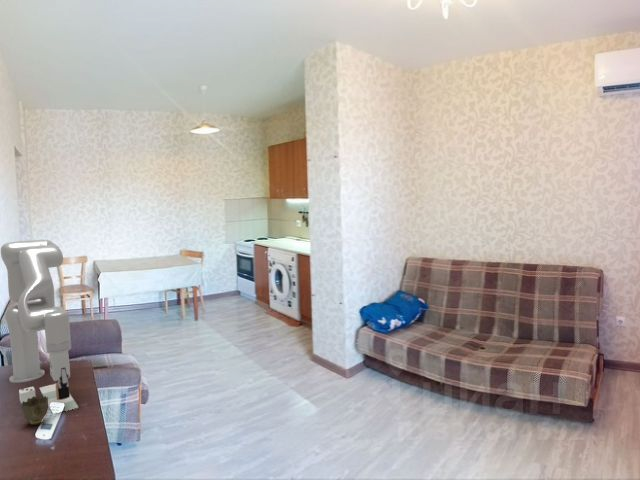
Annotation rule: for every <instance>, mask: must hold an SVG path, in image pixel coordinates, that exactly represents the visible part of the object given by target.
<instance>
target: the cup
mask: <svg viewBox="0 0 640 480" xmlns="http://www.w3.org/2000/svg"><path fill="white" fill-rule="evenodd" d="M21 404H22V405H21ZM20 405H21V408H22V411H23V416H24V418H25V419H26V420H27V421H29V423H30V425H31V426H37V425H40V424H42V423H41V421H42V419H43V420H44V418H45V416H46V415H47V413H48V408H49V406H48V396H47V397H46V396H45V397H44V396H43V395H42V396H40V395H38V396H36V397H35V396H34V397H32V398H31V399H30V398H28V399H27V402H24V401H23V403H21V402H20Z"/></svg>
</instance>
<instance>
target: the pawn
mask: <svg viewBox="0 0 640 480" xmlns="http://www.w3.org/2000/svg"><path fill="white" fill-rule="evenodd" d="M61 382H62V381H61ZM55 384H56V383H55ZM68 386H69V387H70V384H69V383H68ZM58 388H59V383H58V382H57V384H56V397H57V400H63V399H59V394H58ZM70 395H71V393H70V394H69V397H70ZM64 399H67V398H64Z"/></svg>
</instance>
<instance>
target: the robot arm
mask: <svg viewBox="0 0 640 480" xmlns="http://www.w3.org/2000/svg"><path fill="white" fill-rule="evenodd" d="M63 255H64V254H63V251H62V250H61V249H60V247H59V246H58V245H56V243H54V242H52V241H51V240H49V239H40V240H39V239H36V240H22V241H21V240H19V241H11V242H6V243H4V244H3V245H2V246H1V247H0V257H1V260H2V261H3V263H4V265H5V267H6V270H7V283H8V285H7V288H8V289H7V290H8V297H9V299H10V300H11V302H13V303H17V304H14V305H12V306H9V307H7V309H6V310H5V315H4V316H5V321H6V324H7V325H6V326H7V329H8V334H9V339H10V340H9V341H10V343H9V344H10V350H11V351H10V352H11V362H12V364H11V365H12V373H13V374H12V375H10V376H9V379H8V380H9V382H10V383H12V384H13V383H14V384H15V383H16V384H17V383H19V384H21V383H28V382H31V381H35V380H37V379H40V378H42V377H43V376H45V374H46V372H45V370H44V369H41V362H40V352H39V350H40V349H39V339H38V338H39V337H38V333H37V332H41V331H44V334H45V335H44V337H45V347H46V353H47V354H49V374H50V377H51V379H52V380H53V381H54V382H55V384H57V382H58V383H59V388H58V394H59V399H64V398H68V397H69V393H70V385H69V386H68V384H69V380H68V379H69V378H71V367H70V356H69V351H70V350H71V349H72V339H71V327H70V326H71V325H70V316H69V312H68V311H67V310H66V309H65V308H64V307H62V306H55V305H56V304H55V303H56V302H55V286H54V282H53V278H52V276H51V272H50V269H49V268H56V267H57V268H59V267H60V266H62V265H63V263H64V256H63ZM35 300H37V301H35ZM29 301H30V302H29ZM31 301H32V302H31ZM61 381H62V382H61Z"/></svg>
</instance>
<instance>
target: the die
mask: <svg viewBox="0 0 640 480" xmlns="http://www.w3.org/2000/svg"><path fill="white" fill-rule="evenodd" d="M18 395H19V402H20V405H21V406H22V404H21V403H23V401H24V402H27V399H28V398H30V399H31V398H32V397H34V396H35V397H36V398H37V396H36V389H35V387H34V386H29V387H25V388H20V389H19V390H18Z"/></svg>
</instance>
